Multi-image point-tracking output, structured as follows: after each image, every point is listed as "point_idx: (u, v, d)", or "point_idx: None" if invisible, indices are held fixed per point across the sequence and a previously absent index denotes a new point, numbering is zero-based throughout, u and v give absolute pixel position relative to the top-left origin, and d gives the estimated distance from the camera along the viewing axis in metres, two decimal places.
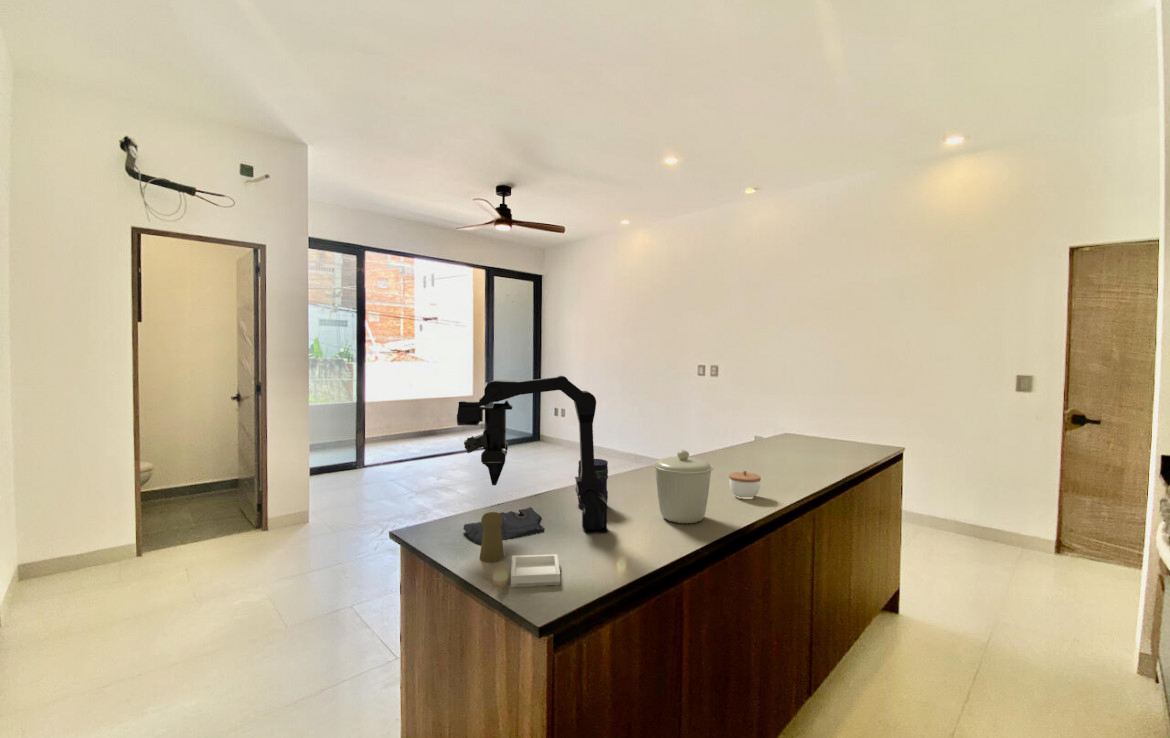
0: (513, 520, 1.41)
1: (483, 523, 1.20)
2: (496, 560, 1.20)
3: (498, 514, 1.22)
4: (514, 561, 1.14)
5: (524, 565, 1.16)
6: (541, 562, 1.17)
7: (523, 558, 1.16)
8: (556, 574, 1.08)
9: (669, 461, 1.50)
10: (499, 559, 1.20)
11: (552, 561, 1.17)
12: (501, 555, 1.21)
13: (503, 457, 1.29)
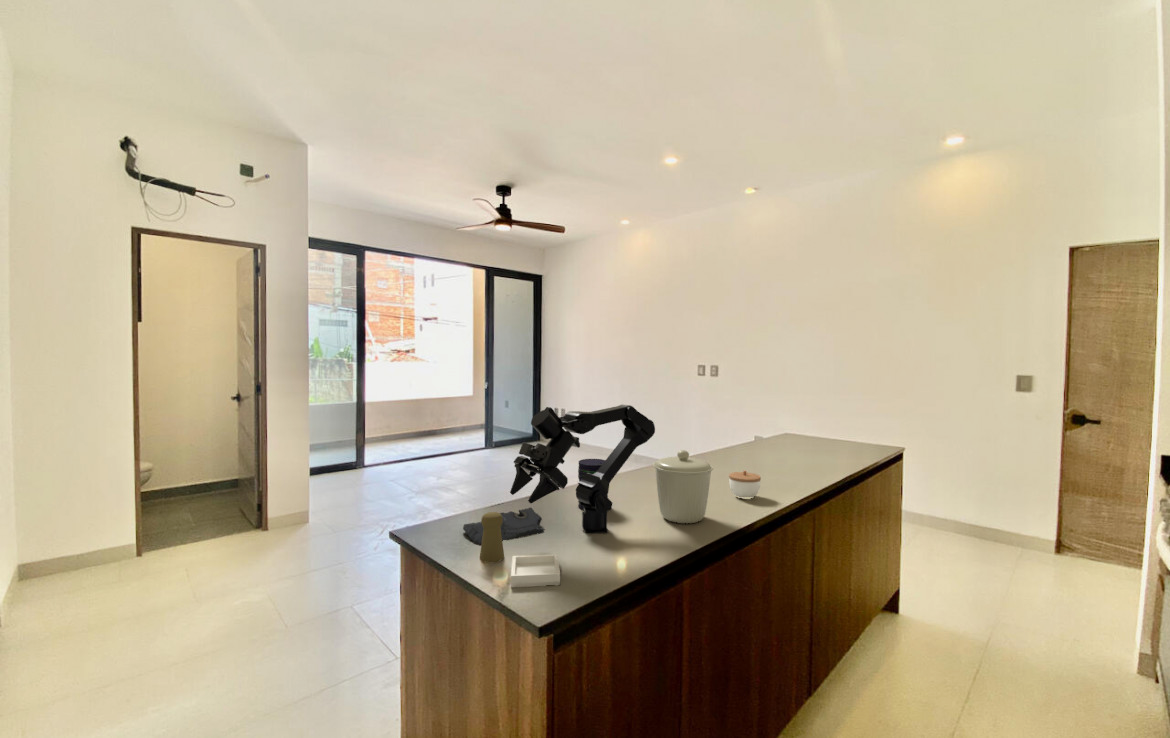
0: (513, 520, 1.41)
1: (483, 523, 1.20)
2: (496, 560, 1.20)
3: (498, 514, 1.22)
4: (514, 561, 1.14)
5: (524, 565, 1.16)
6: (541, 562, 1.17)
7: (523, 558, 1.16)
8: (556, 574, 1.08)
9: (669, 461, 1.50)
10: (499, 559, 1.20)
11: (552, 561, 1.17)
12: (501, 555, 1.21)
13: (565, 484, 1.24)
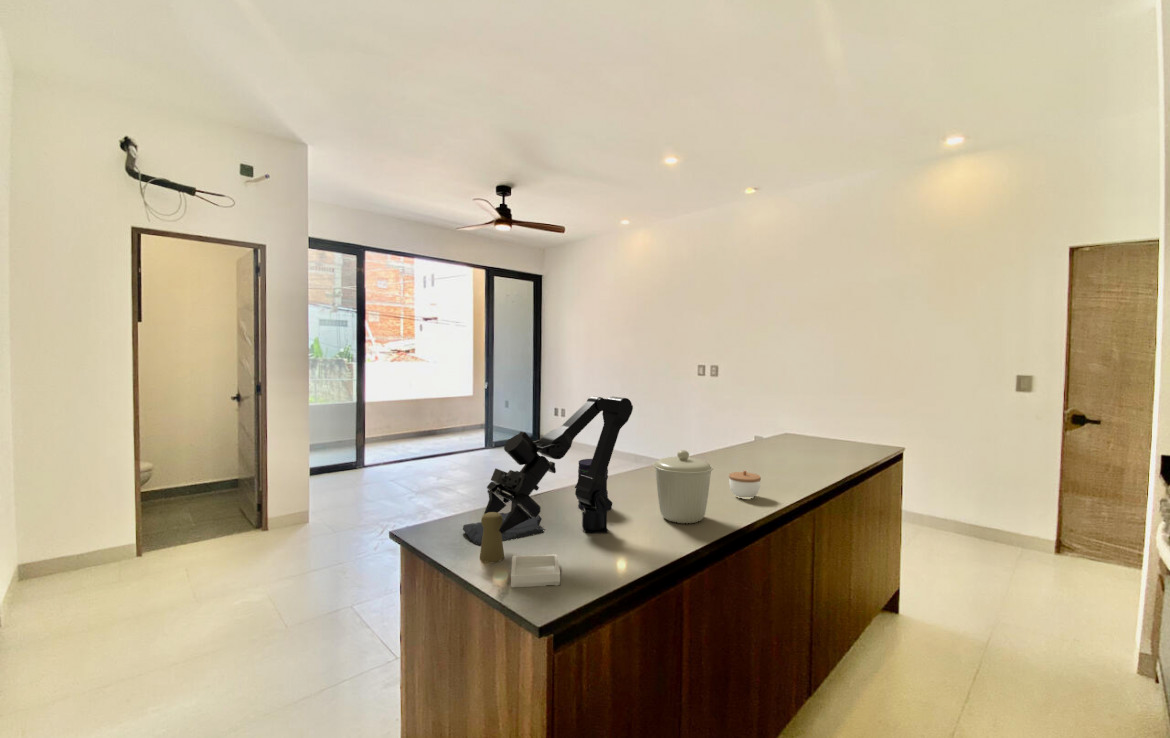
0: None
1: (483, 523, 1.20)
2: (496, 560, 1.20)
3: (498, 514, 1.22)
4: (514, 561, 1.14)
5: (524, 565, 1.16)
6: (541, 562, 1.17)
7: (523, 558, 1.16)
8: (556, 574, 1.08)
9: (669, 461, 1.50)
10: (499, 559, 1.20)
11: (552, 561, 1.17)
12: (501, 555, 1.21)
13: (538, 513, 1.19)
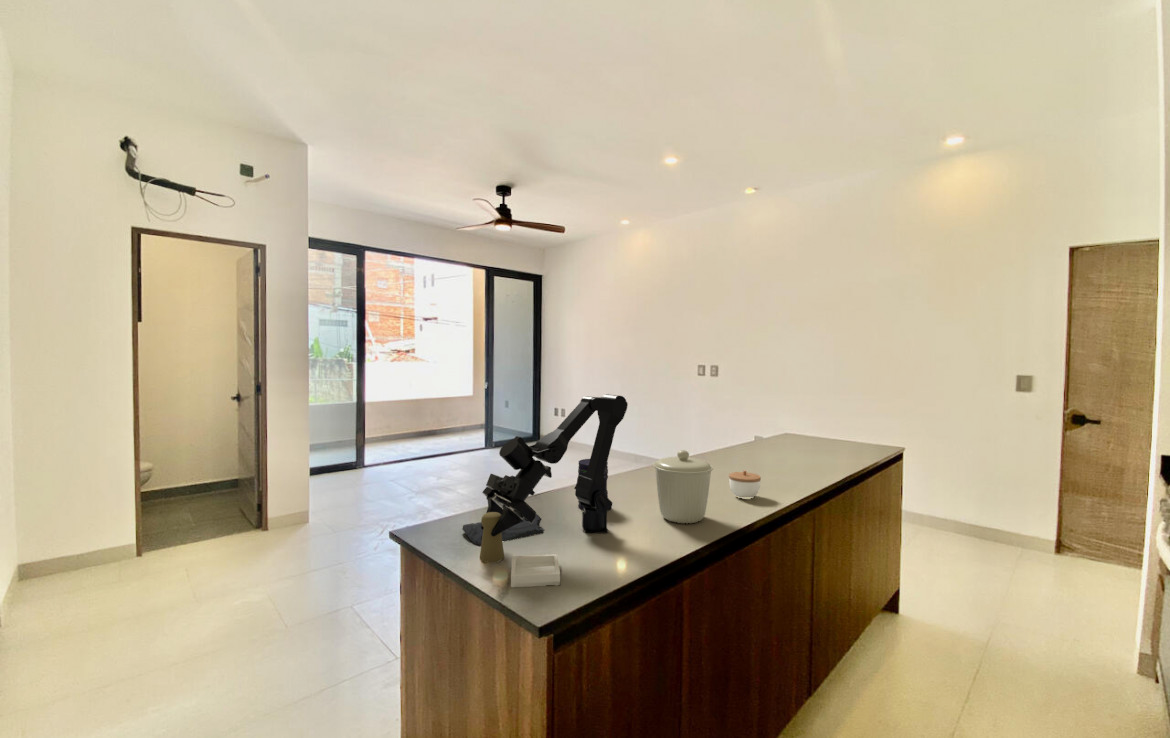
0: None
1: (483, 523, 1.20)
2: (496, 560, 1.20)
3: (498, 514, 1.22)
4: (514, 561, 1.14)
5: (524, 565, 1.16)
6: (541, 562, 1.17)
7: (523, 558, 1.16)
8: (556, 574, 1.08)
9: (669, 461, 1.50)
10: (499, 559, 1.20)
11: (552, 561, 1.17)
12: (501, 555, 1.21)
13: (534, 519, 1.18)
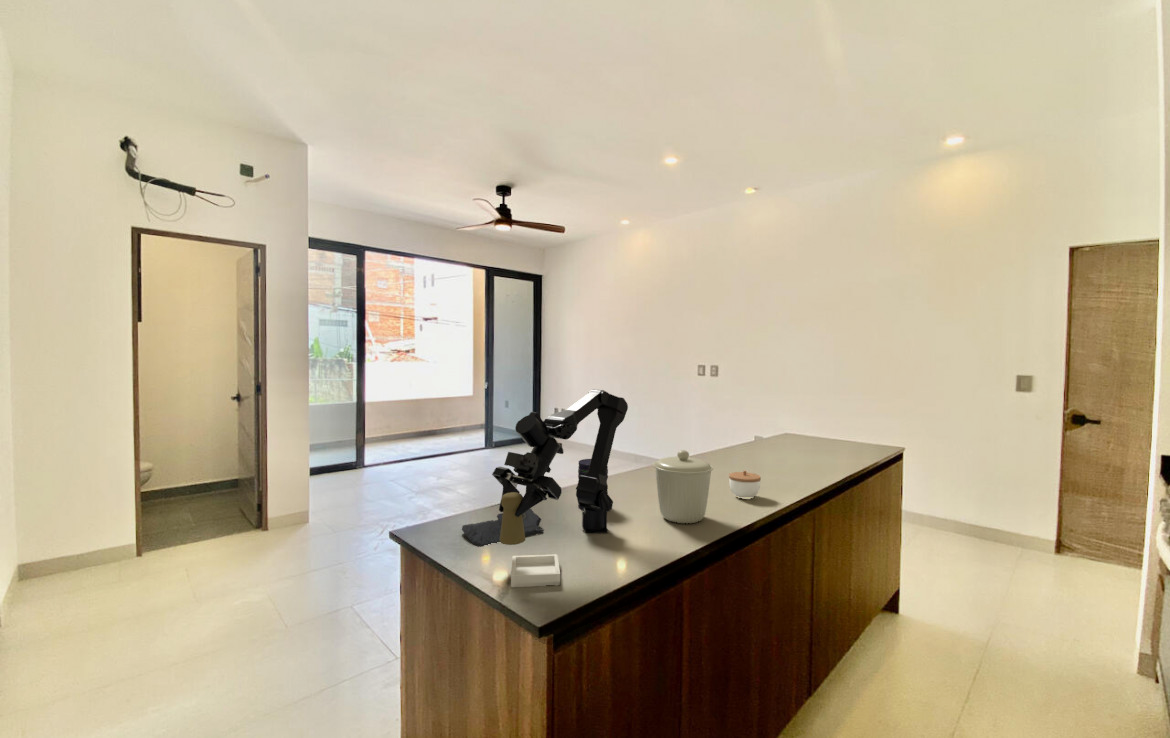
0: None
1: (505, 504, 1.13)
2: (520, 541, 1.14)
3: (519, 494, 1.16)
4: (514, 561, 1.14)
5: (524, 565, 1.16)
6: (541, 562, 1.17)
7: (523, 558, 1.16)
8: (556, 574, 1.08)
9: (669, 461, 1.50)
10: (522, 540, 1.15)
11: (552, 561, 1.17)
12: (524, 536, 1.15)
13: None
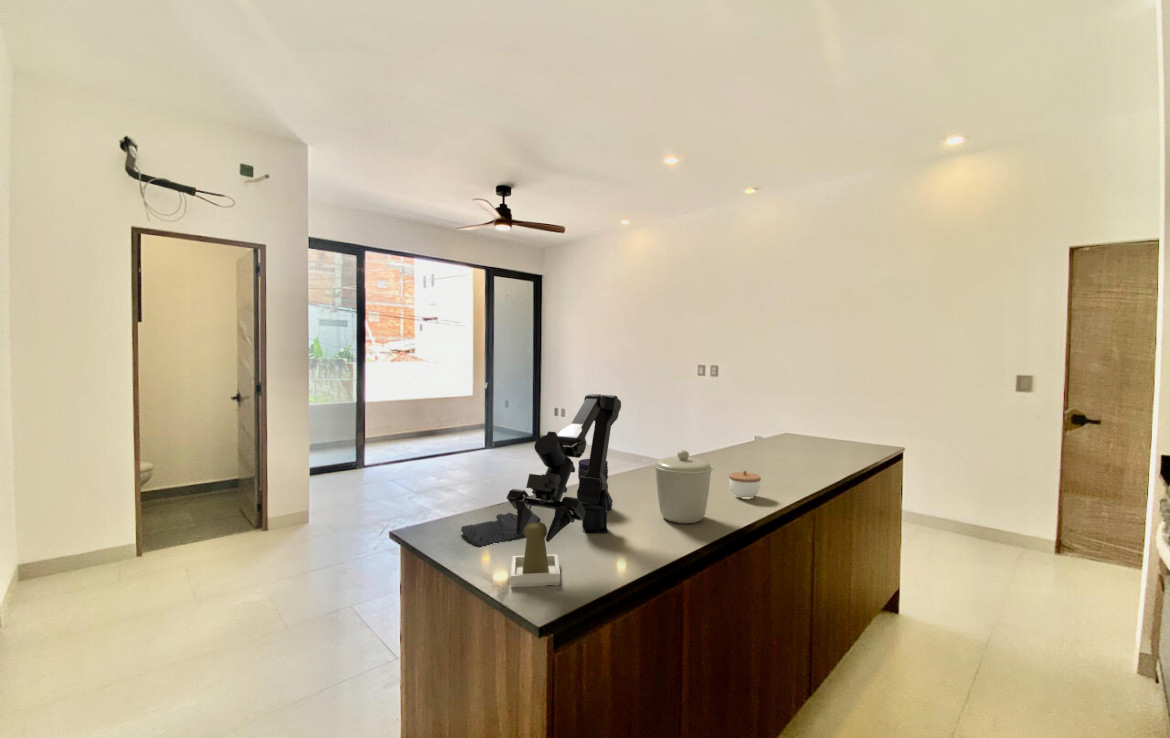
0: (511, 522, 1.39)
1: (531, 535, 1.10)
2: None
3: (542, 523, 1.13)
4: (514, 561, 1.14)
5: None
6: None
7: (523, 558, 1.16)
8: (556, 574, 1.08)
9: (669, 461, 1.50)
10: (547, 571, 1.12)
11: (552, 561, 1.17)
12: None
13: (584, 515, 1.14)
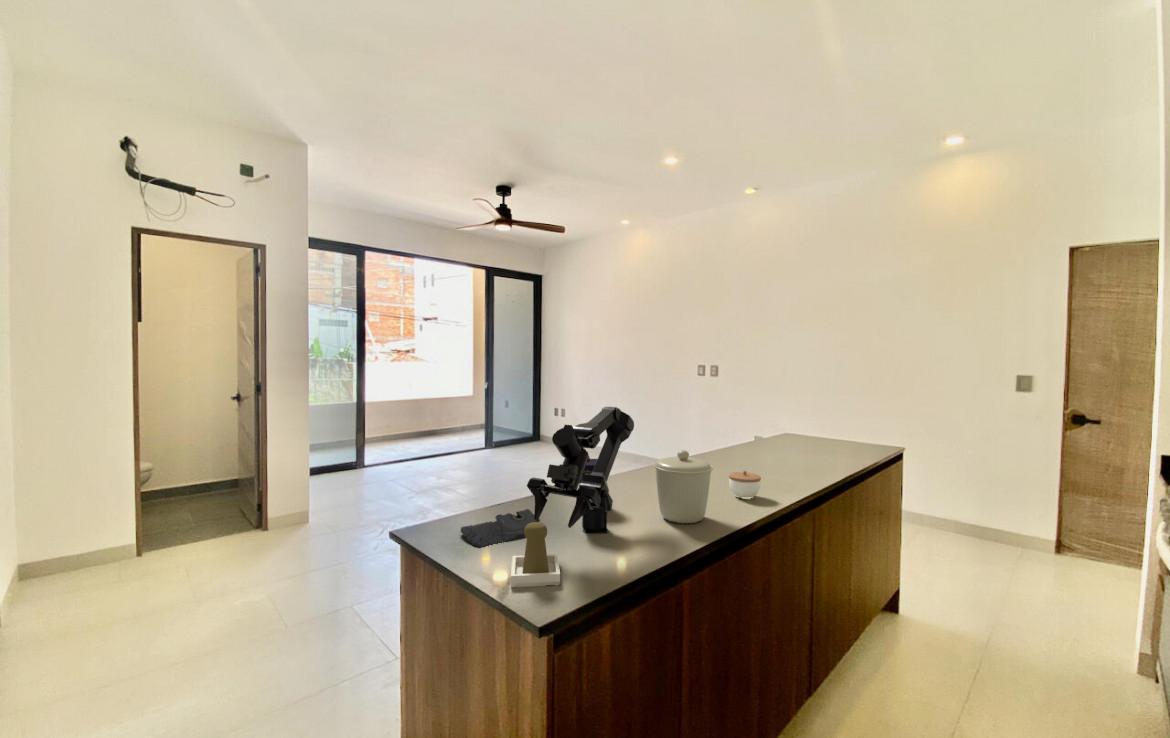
0: (511, 522, 1.39)
1: (531, 535, 1.10)
2: None
3: (542, 523, 1.13)
4: (514, 561, 1.14)
5: None
6: None
7: (523, 558, 1.16)
8: (556, 574, 1.08)
9: (669, 461, 1.50)
10: (547, 571, 1.12)
11: (552, 561, 1.17)
12: None
13: None
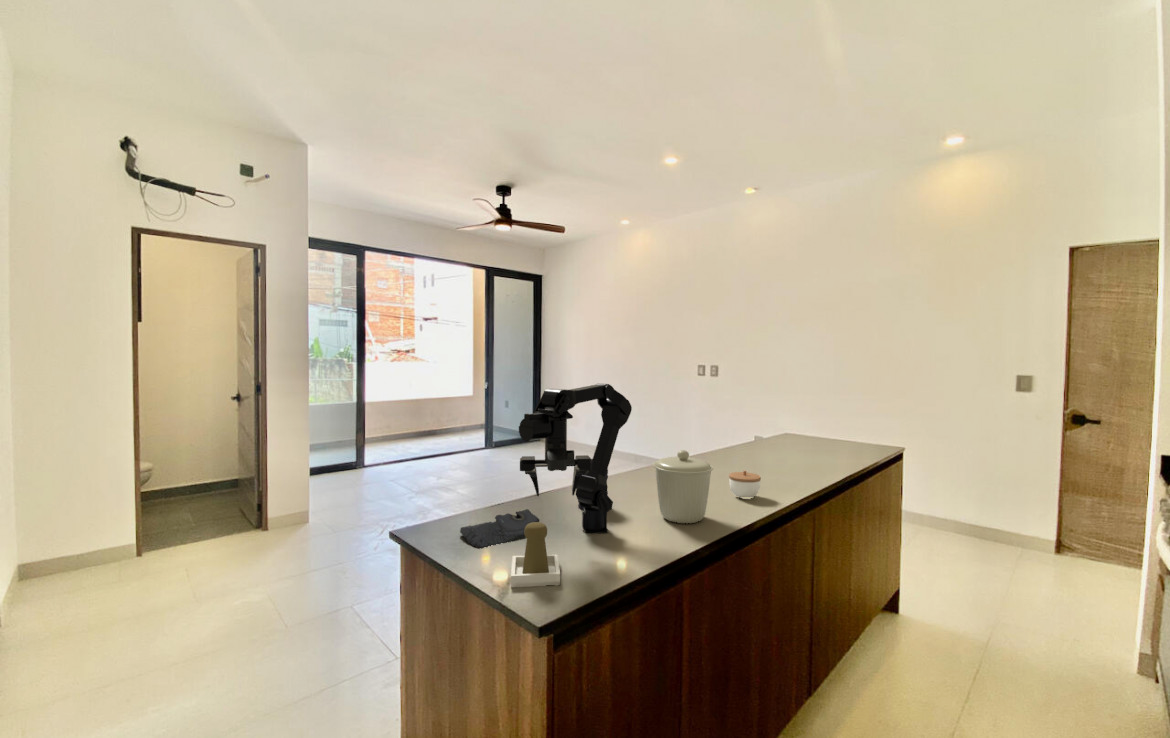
0: (511, 523, 1.39)
1: (531, 535, 1.10)
2: None
3: (542, 523, 1.13)
4: (514, 561, 1.14)
5: None
6: None
7: (523, 558, 1.16)
8: (556, 574, 1.08)
9: (669, 461, 1.50)
10: (547, 571, 1.12)
11: (552, 561, 1.17)
12: None
13: None
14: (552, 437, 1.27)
